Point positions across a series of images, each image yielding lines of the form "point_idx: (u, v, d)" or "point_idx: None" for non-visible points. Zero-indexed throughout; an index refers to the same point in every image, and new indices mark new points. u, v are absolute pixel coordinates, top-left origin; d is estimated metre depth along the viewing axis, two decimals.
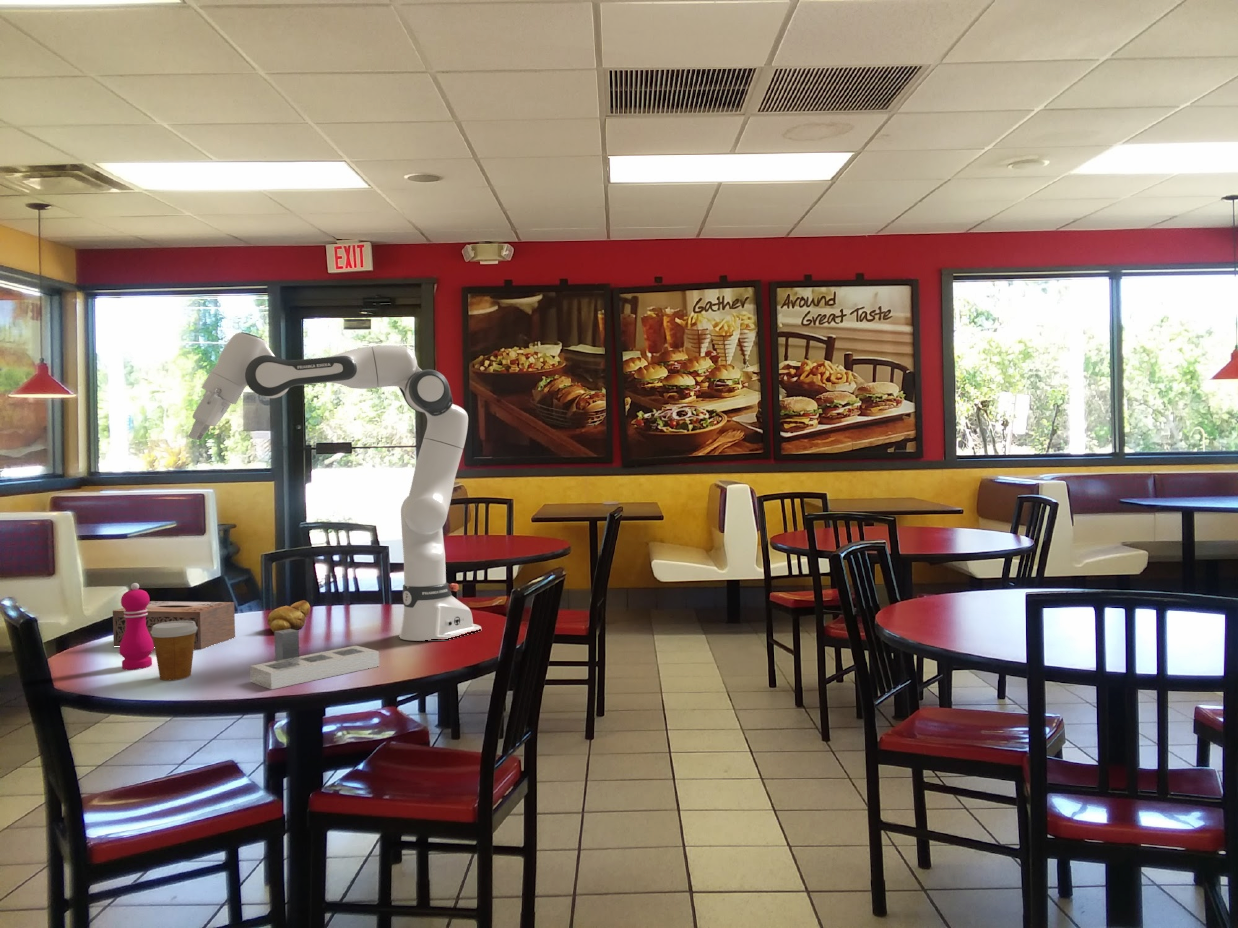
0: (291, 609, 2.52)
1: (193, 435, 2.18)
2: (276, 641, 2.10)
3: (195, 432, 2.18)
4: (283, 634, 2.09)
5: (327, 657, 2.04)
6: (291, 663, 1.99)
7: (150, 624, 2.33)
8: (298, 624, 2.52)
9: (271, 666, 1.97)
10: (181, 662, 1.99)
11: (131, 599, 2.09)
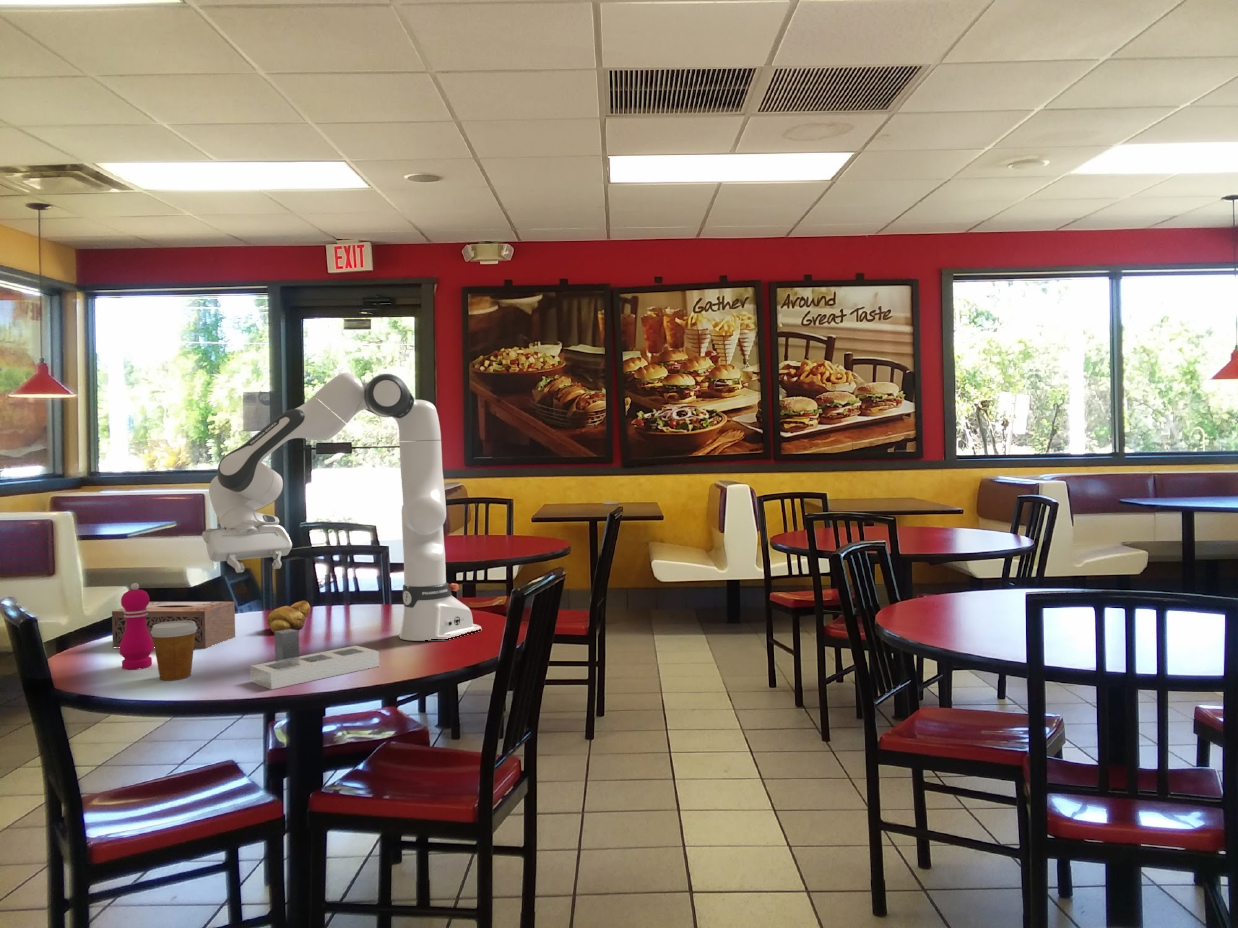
0: (291, 609, 2.51)
1: (237, 568, 2.16)
2: (276, 641, 2.10)
3: (235, 565, 2.16)
4: (283, 634, 2.09)
5: (327, 657, 2.04)
6: (291, 663, 1.99)
7: (152, 625, 2.32)
8: (297, 624, 2.52)
9: (271, 666, 1.97)
10: (181, 662, 1.99)
11: (131, 599, 2.09)
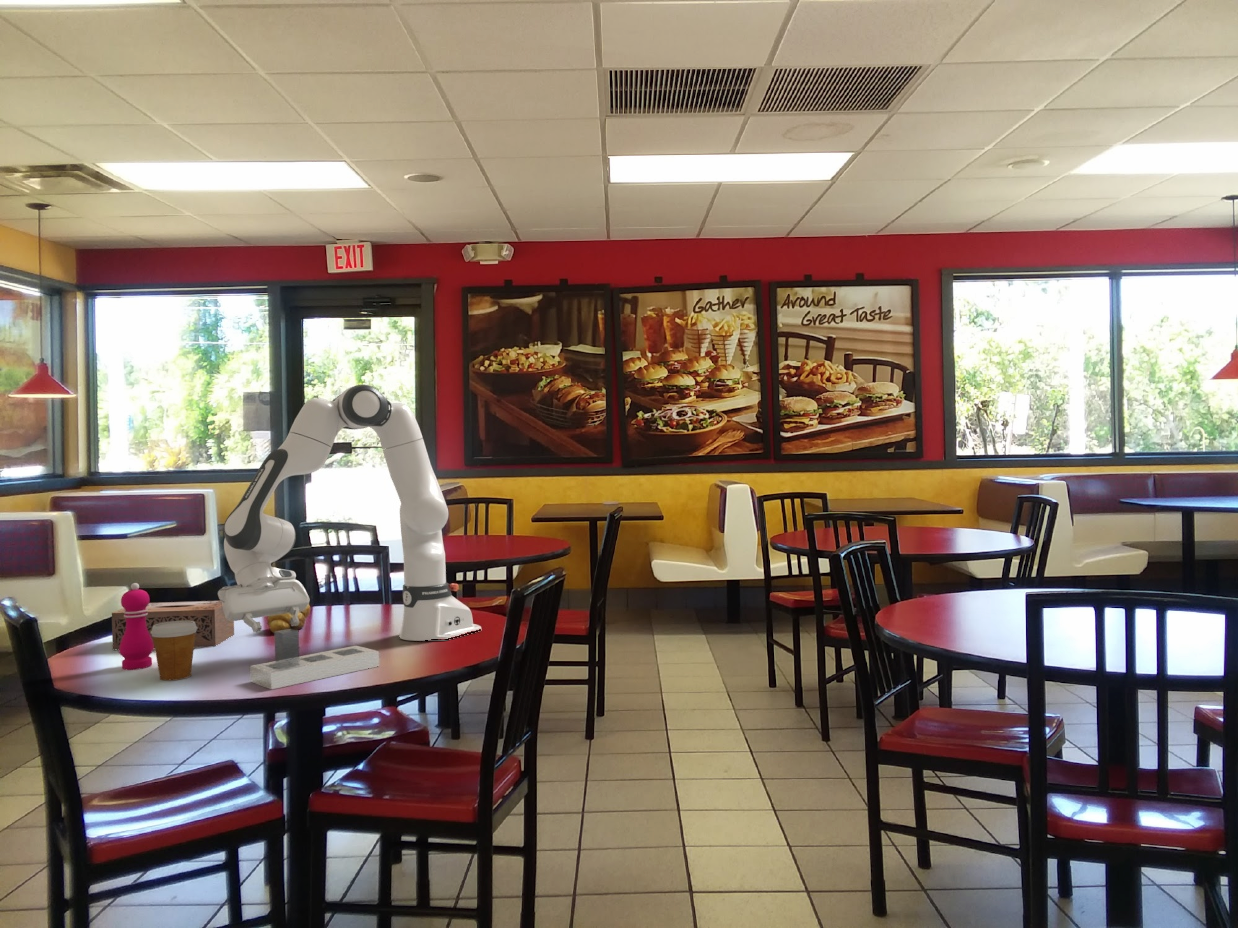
0: None
1: (253, 627, 2.11)
2: (276, 641, 2.10)
3: (252, 624, 2.11)
4: (283, 634, 2.09)
5: (327, 657, 2.04)
6: (291, 663, 1.99)
7: None
8: None
9: (271, 666, 1.97)
10: (181, 662, 1.99)
11: (131, 599, 2.09)
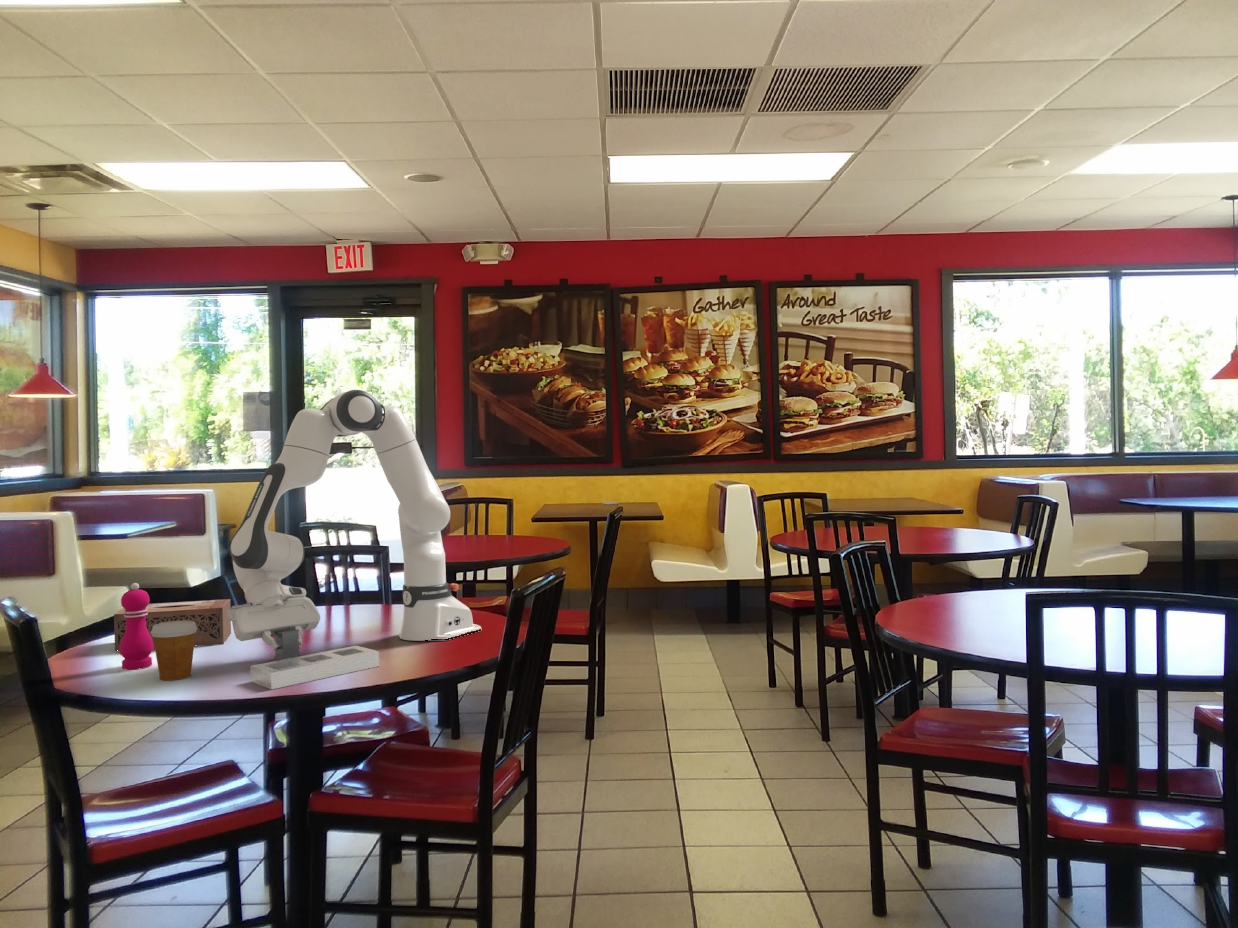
0: None
1: (273, 645, 2.09)
2: None
3: (271, 642, 2.09)
4: (283, 634, 2.09)
5: (327, 657, 2.04)
6: (291, 663, 1.99)
7: None
8: None
9: (271, 666, 1.97)
10: (181, 662, 1.99)
11: (131, 599, 2.09)
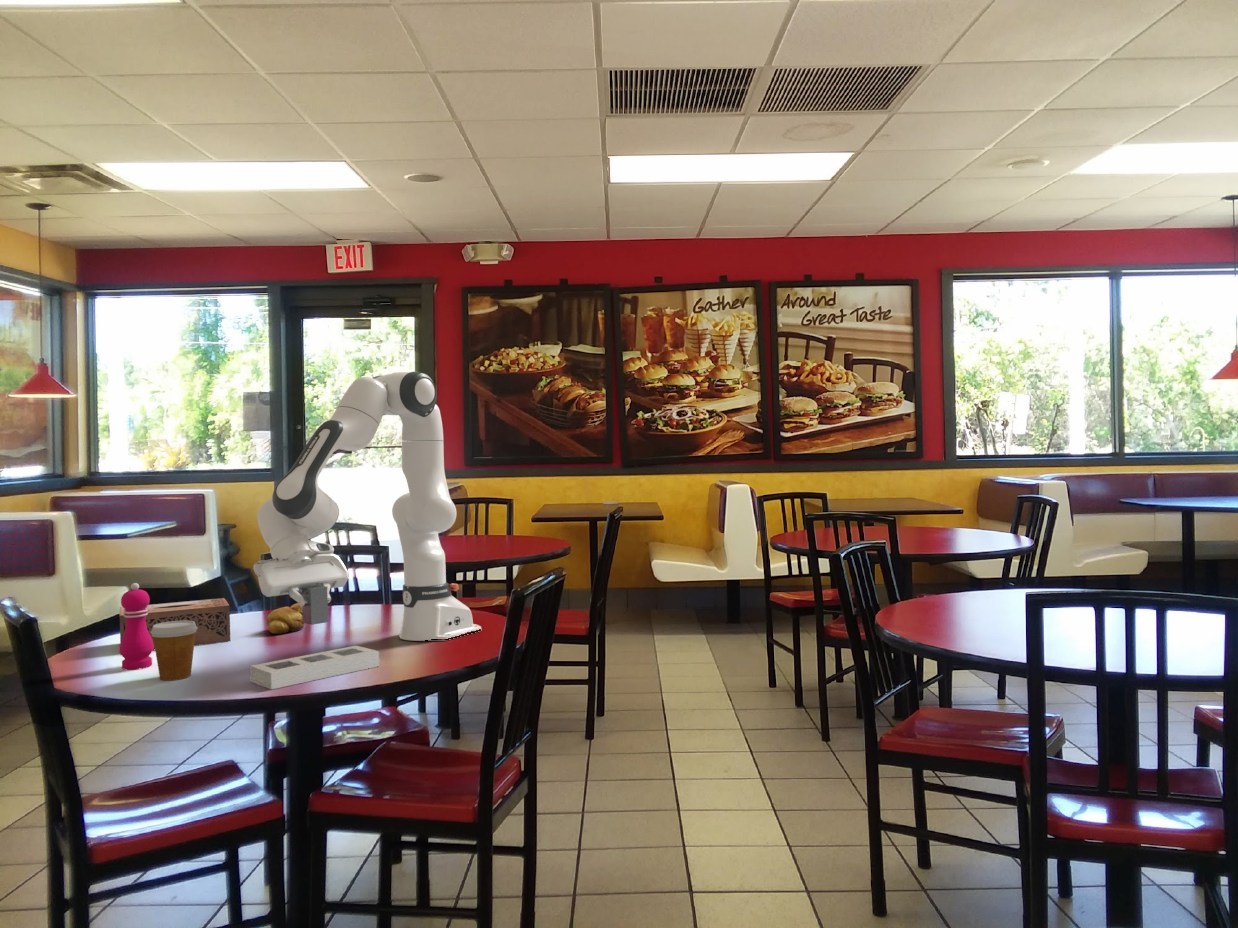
0: (290, 610, 2.50)
1: (300, 602, 1.99)
2: None
3: (299, 598, 1.99)
4: (311, 590, 1.99)
5: (327, 657, 2.04)
6: (291, 663, 1.99)
7: None
8: (296, 625, 2.50)
9: (271, 666, 1.97)
10: (181, 662, 1.99)
11: (131, 599, 2.09)
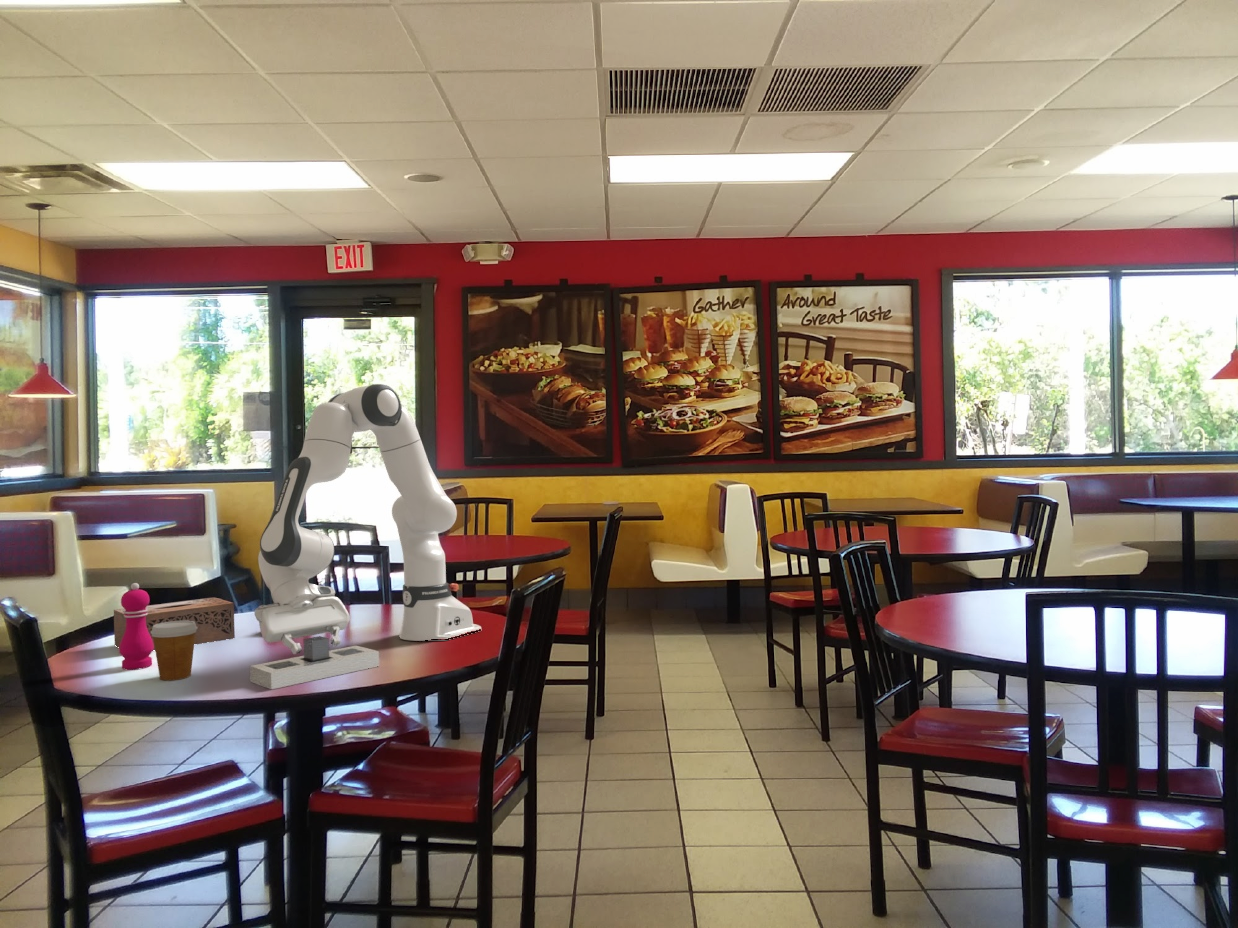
0: None
1: (293, 649, 1.98)
2: (305, 649, 2.01)
3: (291, 645, 1.98)
4: (313, 642, 1.99)
5: None
6: (291, 663, 1.99)
7: None
8: None
9: (271, 666, 1.97)
10: (181, 662, 1.99)
11: (131, 599, 2.09)
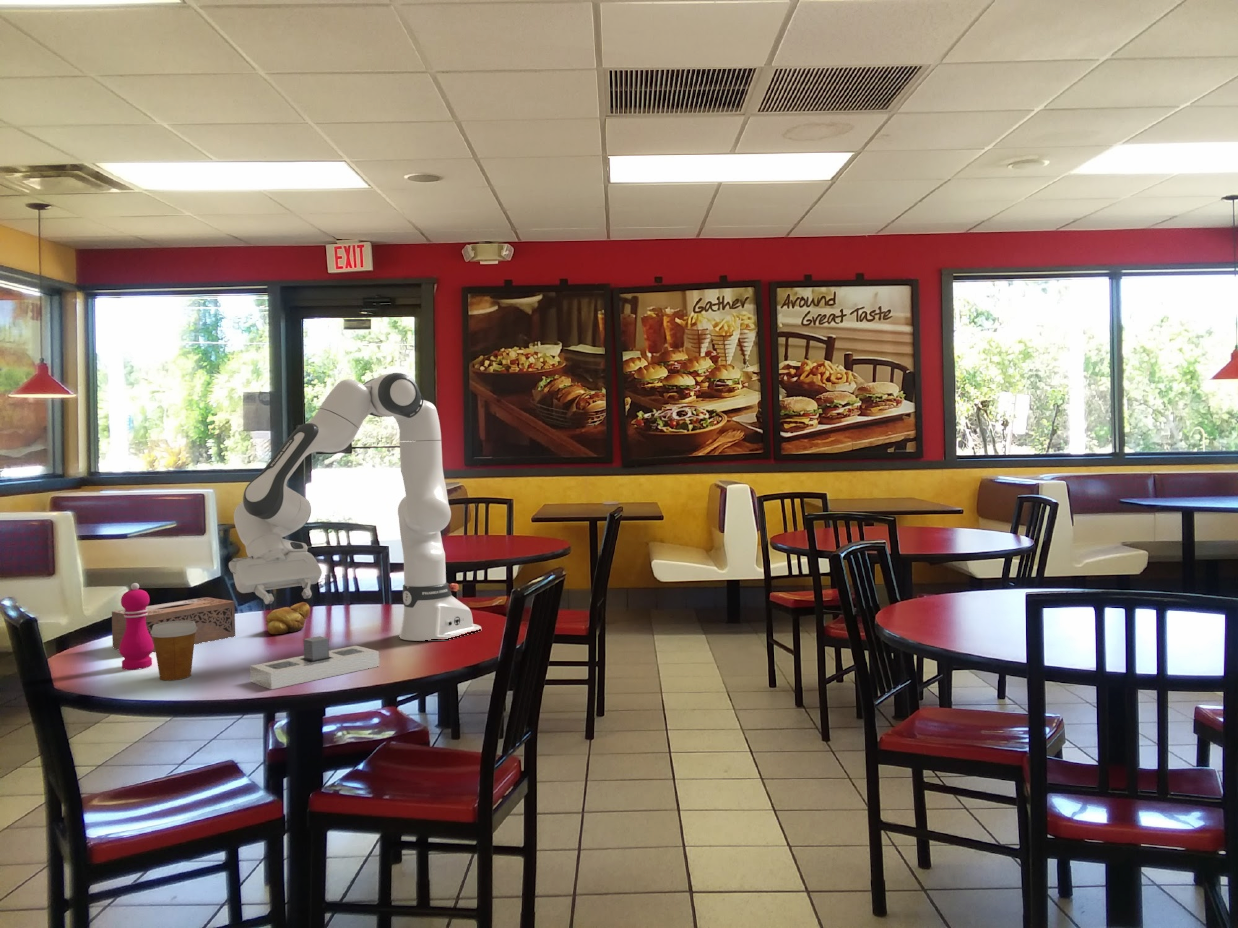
0: (289, 611, 2.49)
1: (265, 599, 2.06)
2: (305, 649, 2.01)
3: (264, 596, 2.06)
4: (313, 642, 1.99)
5: None
6: (291, 663, 1.99)
7: None
8: (295, 626, 2.49)
9: (271, 666, 1.97)
10: (181, 662, 1.99)
11: (131, 599, 2.09)
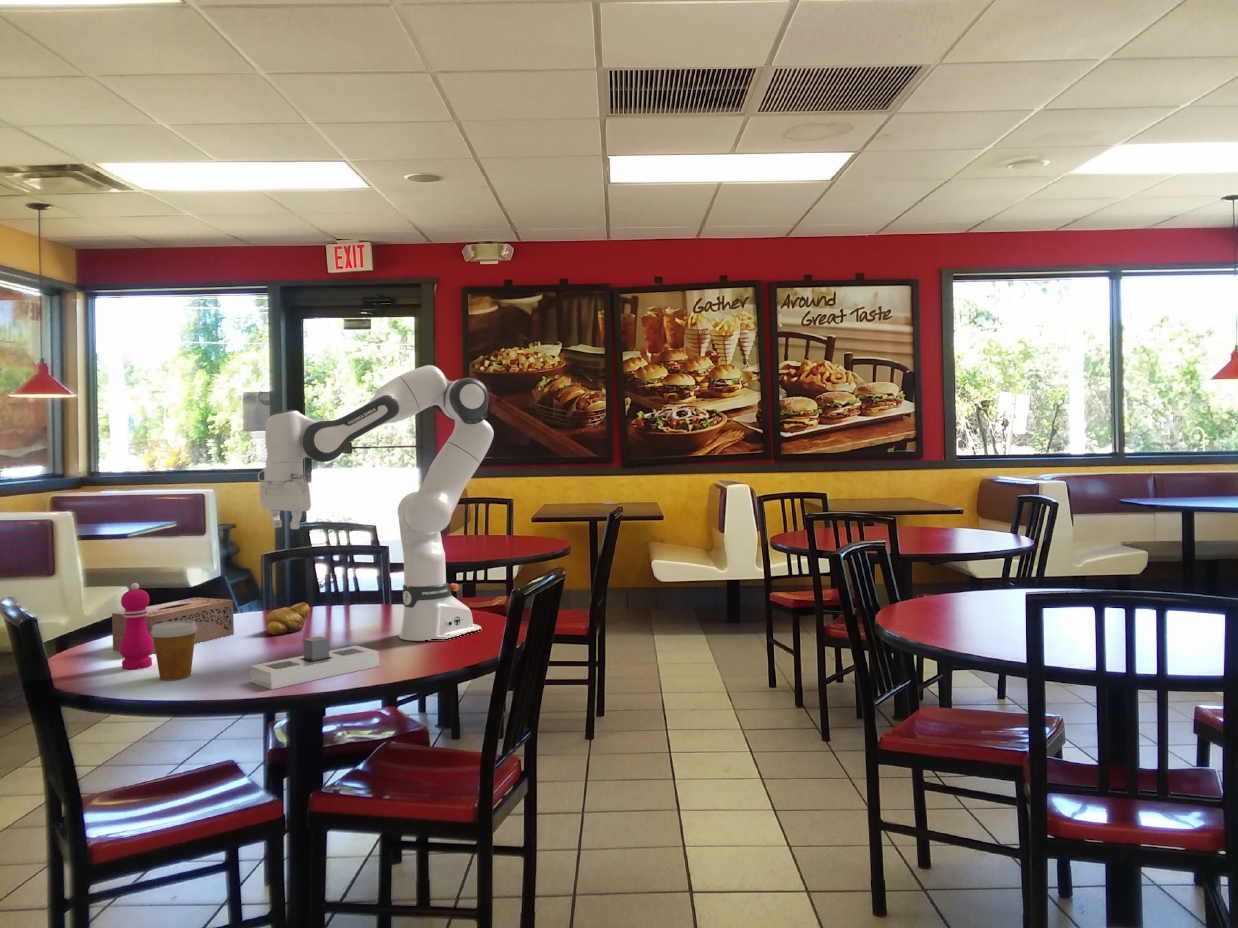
0: (288, 611, 2.49)
1: (296, 525, 2.23)
2: (305, 649, 2.01)
3: (297, 522, 2.23)
4: (313, 642, 1.99)
5: None
6: (291, 663, 1.99)
7: None
8: (294, 626, 2.49)
9: (271, 666, 1.97)
10: (181, 662, 1.99)
11: (131, 599, 2.09)
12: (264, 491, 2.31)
